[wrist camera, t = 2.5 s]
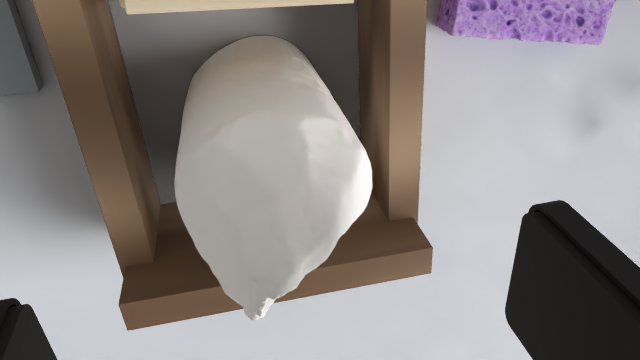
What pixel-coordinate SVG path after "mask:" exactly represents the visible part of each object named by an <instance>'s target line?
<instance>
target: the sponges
mask: <svg viewBox="0 0 640 360" xmlns="http://www.w3.org/2000/svg"><path fill="white" fill-rule="evenodd" d="M615 1H616V0H441V5H440V10H439V17H438V20H437V23H436V25H437V26H438V27H439V28H441V29H442V30H443V31H446V32H447V33H448V34H450V35H451V36H466V37H479V38H489V39H505V38H516V39H519V40H522V41H523V40H530V41H539V42H540V41H544V40H546V41H552V42H555V41H558V42H568V43H572V44H585V43H587V44H594V45H599V44H600V43H601V42H602V39H603V36H604V33H605V30H606V25H607V22H608V20H609V17H610V15H611V9H612V7H613V5H614V3H615Z"/></svg>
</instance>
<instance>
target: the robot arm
mask: <svg viewBox="0 0 640 360" xmlns="http://www.w3.org/2000/svg"><path fill="white" fill-rule="evenodd" d="M505 314H506V318H507V321H508V324H509V325H510V327H511V329H512V330H513V332H514V333H515V334H516V336H517V337H518V339H519V340H520V342H521V343H522V344H523V346H524V347H525V349H526V350H527V352H528V353H529V355H530V356H531V357H532V359H533V360H640V267H638V266H637V265H636V264H635V263H634V262H633V261H632V260H631V259H629V258H628V257H627V256H626V255H625V254H624V253H623V252H622V251H620V250H619V249H618V248H617V247H616V246H615V245H614V244H613V243H611V242H610V241H609V240H608V239H607V238H606V237H605V236H604V235H602V234H601V233H600V232H599V231H598V230H597V229H596V228H595V227H593V226H592V225H591V224H590V223H589V222H588V221H587V220H586V219H584V218H583V217H582V216H581V215H580V214H579V213H578V212H577V211H576V210H574V209H573V208H572V207H571V206H570V205H569V204H568V203H566V202H564V201H561V200H558V201H552V202H547V203H541V204H536V205H533V206H532V207H531V208H530V209H529V212H528V213H527V214H525V215H524V216H523V218H522V222H521V227H520V233H519V238H518V243H517V249H516V254H515V259H514V264H513V270H512V275H511V280H510V286H509V291H508V296H507V301H506V307H505ZM0 360H57V358H56V356H55V354H54V352H53V350H52V348H51V346H50V344H49V342H48V340H47V337H46V335H45V333H44V331H43V329H42V327H41V325H40V323H39V321H38V319H37V317H36V315H35V313H34V311H33V309H32V307H31V306H30V305H29V304H24V305H21V304H20V302H19V301H18V300H17V299H15V298H10V299H5V300H0Z"/></svg>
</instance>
